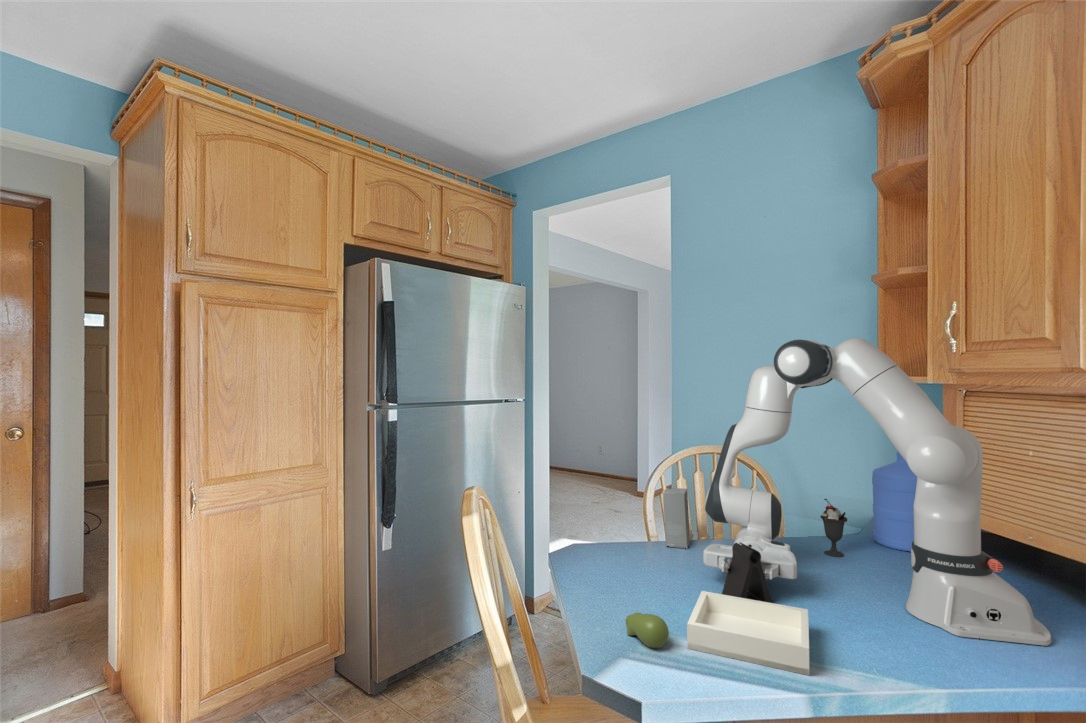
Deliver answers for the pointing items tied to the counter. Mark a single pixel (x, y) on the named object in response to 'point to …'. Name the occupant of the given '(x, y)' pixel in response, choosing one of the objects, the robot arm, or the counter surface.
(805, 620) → the tray
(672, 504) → the skincare box
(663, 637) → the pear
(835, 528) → the sundae
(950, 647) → the counter surface
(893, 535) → the water jug
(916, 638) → the counter surface
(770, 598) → the phone stand
